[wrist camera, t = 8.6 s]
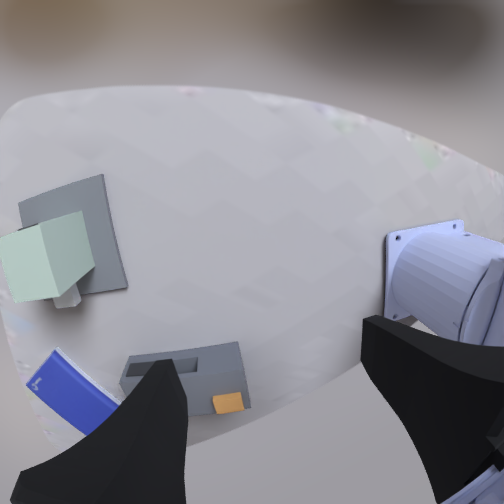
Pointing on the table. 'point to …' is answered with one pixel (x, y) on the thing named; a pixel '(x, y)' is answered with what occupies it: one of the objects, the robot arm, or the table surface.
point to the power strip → (199, 377)
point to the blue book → (72, 392)
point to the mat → (97, 226)
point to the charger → (47, 260)
